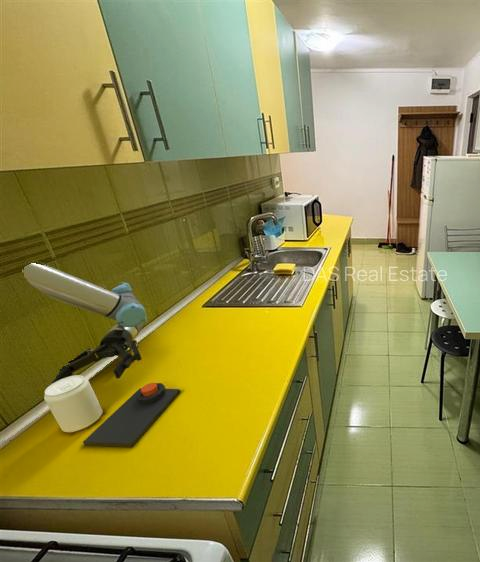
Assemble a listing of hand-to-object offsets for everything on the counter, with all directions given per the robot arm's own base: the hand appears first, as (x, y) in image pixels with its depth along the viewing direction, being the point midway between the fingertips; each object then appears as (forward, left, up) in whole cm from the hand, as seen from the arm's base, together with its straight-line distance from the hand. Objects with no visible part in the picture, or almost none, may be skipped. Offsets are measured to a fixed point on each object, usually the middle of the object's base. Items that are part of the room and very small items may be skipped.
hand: (86, 380), depth 83 cm
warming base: (+16, -5, -8) cm, 18 cm away
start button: (+16, +1, -5) cm, 16 cm away
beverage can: (+3, -7, -8) cm, 11 cm away
